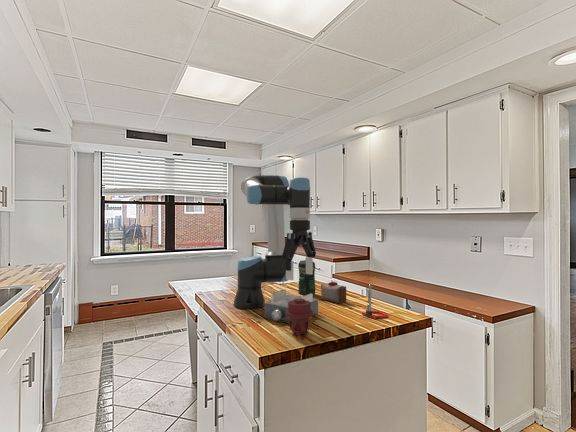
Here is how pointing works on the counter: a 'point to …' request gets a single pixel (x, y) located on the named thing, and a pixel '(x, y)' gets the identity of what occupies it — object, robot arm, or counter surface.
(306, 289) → the coffee jar
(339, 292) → the food item
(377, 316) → the tow hook
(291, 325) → the mechanical component
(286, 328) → the counter surface
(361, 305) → the counter surface
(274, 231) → the robot arm
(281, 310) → the motor housing
